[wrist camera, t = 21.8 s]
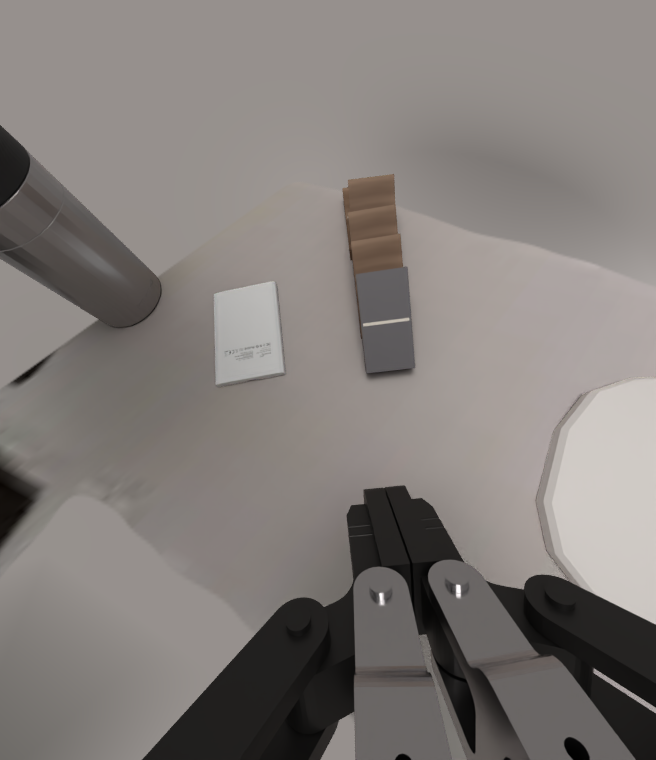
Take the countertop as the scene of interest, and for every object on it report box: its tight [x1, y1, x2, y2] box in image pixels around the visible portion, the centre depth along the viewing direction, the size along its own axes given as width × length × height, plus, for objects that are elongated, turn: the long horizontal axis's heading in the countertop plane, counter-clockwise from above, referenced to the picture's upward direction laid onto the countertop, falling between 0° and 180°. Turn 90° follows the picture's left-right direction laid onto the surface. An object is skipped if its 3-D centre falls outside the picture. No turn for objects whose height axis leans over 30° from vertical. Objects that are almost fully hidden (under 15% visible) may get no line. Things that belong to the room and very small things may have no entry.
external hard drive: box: [214, 281, 286, 387], centre depth 38 cm, size 2×8×12 cm
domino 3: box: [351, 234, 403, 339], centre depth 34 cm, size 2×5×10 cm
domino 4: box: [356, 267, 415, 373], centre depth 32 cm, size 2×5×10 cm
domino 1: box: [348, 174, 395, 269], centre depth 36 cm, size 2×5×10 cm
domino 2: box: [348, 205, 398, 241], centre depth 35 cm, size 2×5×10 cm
